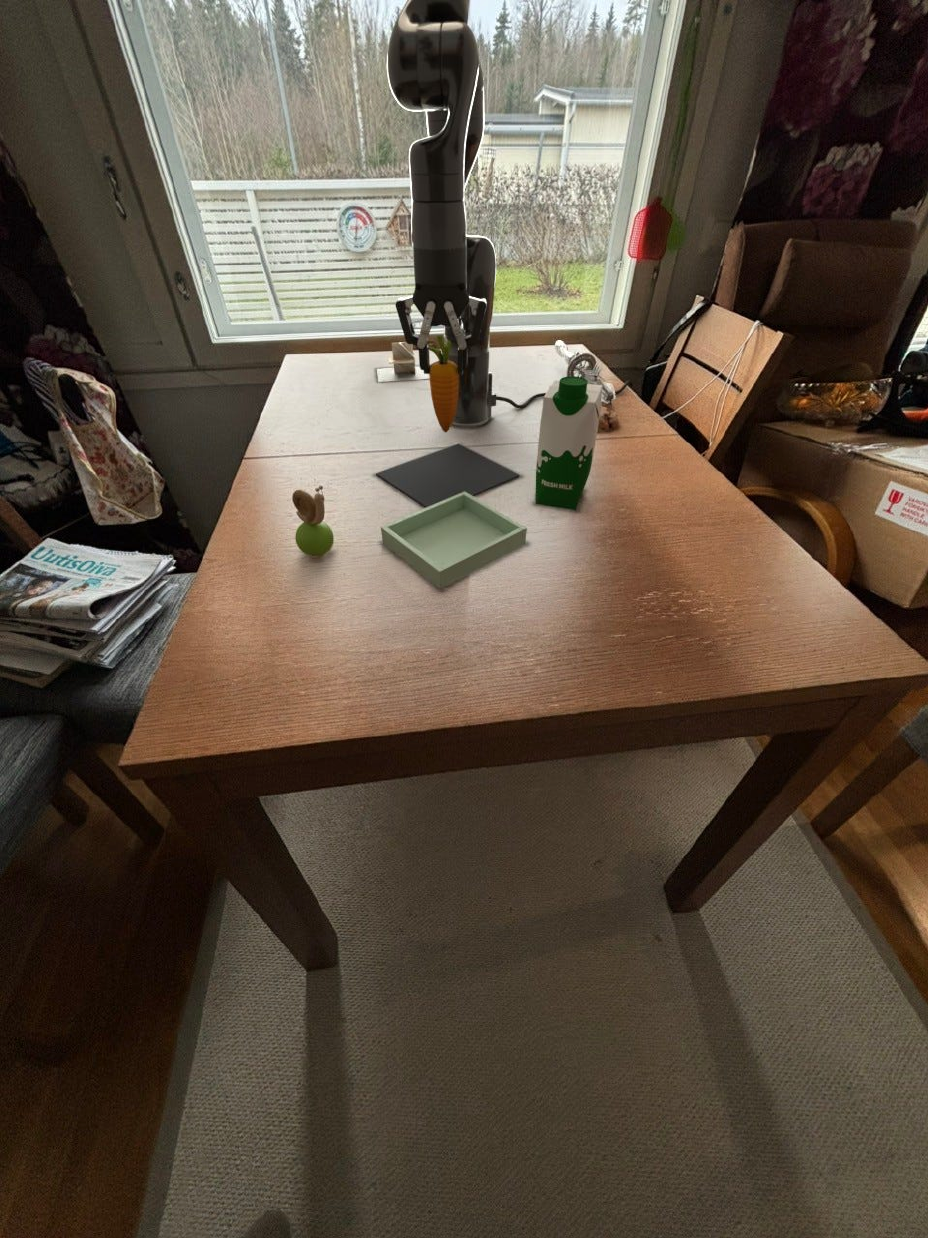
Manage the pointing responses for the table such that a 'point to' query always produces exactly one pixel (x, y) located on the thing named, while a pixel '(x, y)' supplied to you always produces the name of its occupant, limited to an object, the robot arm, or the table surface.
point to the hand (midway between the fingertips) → (443, 372)
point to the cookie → (607, 420)
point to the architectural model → (401, 365)
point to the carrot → (444, 385)
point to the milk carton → (566, 441)
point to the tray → (453, 538)
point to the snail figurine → (312, 523)
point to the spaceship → (585, 370)
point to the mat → (446, 475)
